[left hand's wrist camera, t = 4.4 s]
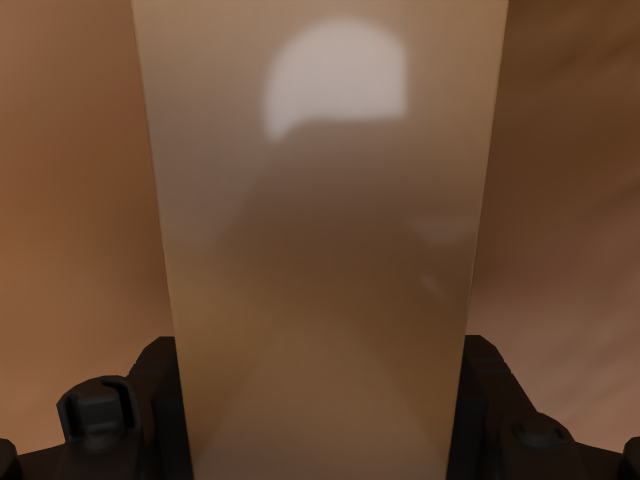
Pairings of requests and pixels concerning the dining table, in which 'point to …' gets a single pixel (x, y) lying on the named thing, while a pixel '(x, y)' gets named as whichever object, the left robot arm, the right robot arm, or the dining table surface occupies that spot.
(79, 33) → the dining table surface
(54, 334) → the dining table surface
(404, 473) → the bar
